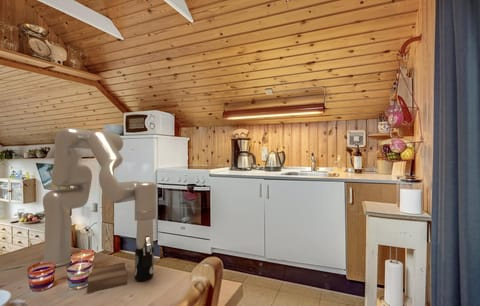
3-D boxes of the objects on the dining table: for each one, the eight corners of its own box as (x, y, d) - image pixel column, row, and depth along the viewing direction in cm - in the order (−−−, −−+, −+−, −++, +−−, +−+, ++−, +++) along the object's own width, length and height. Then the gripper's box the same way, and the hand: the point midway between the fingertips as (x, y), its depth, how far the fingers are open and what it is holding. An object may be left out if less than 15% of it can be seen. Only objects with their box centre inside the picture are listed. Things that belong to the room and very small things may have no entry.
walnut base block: (89, 278, 92) (89, 268, 92) (124, 271, 98) (124, 262, 98) (87, 292, 81) (87, 282, 81) (126, 284, 87) (127, 274, 87)
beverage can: (146, 283, 88) (147, 249, 88) (130, 281, 89) (131, 248, 90) (156, 275, 94) (157, 243, 95) (141, 273, 96) (141, 242, 96)
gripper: (132, 212, 98) (132, 255, 98) (137, 220, 83) (137, 272, 82) (152, 210, 102) (151, 252, 101) (160, 218, 87) (160, 267, 86)
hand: (145, 261), depth 92 cm, fingers open, 9 cm apart
